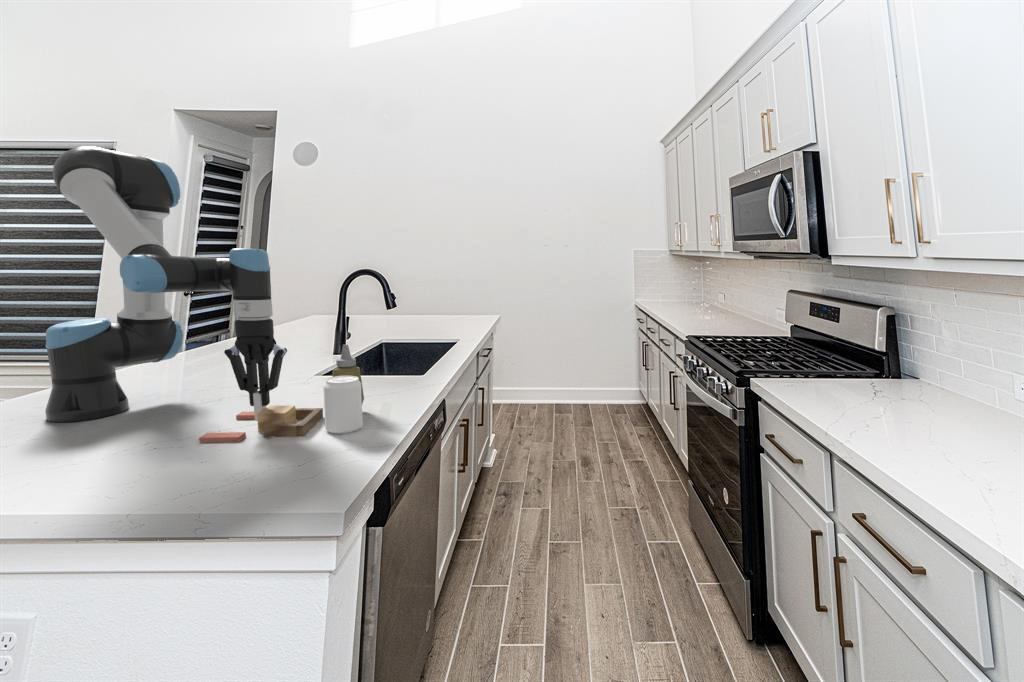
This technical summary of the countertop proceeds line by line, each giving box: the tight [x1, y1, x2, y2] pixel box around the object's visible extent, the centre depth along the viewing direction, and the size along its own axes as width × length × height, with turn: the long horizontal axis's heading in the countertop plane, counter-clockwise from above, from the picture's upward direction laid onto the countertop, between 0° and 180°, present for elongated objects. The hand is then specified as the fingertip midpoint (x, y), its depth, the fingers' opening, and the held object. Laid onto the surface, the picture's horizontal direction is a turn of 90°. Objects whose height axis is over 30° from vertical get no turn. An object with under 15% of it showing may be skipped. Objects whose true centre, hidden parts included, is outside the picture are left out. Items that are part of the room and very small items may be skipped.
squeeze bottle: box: [331, 344, 365, 405], centre depth 114 cm, size 8×8×18 cm
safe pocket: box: [262, 407, 324, 438], centre depth 105 cm, size 8×13×2 cm, turn 5°
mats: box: [198, 411, 255, 443], centre depth 104 cm, size 8×18×1 cm, turn 5°
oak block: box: [257, 404, 297, 433], centre depth 104 cm, size 6×6×4 cm
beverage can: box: [323, 376, 363, 435], centre depth 103 cm, size 8×8×12 cm
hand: (261, 418), depth 104 cm, fingers closed
